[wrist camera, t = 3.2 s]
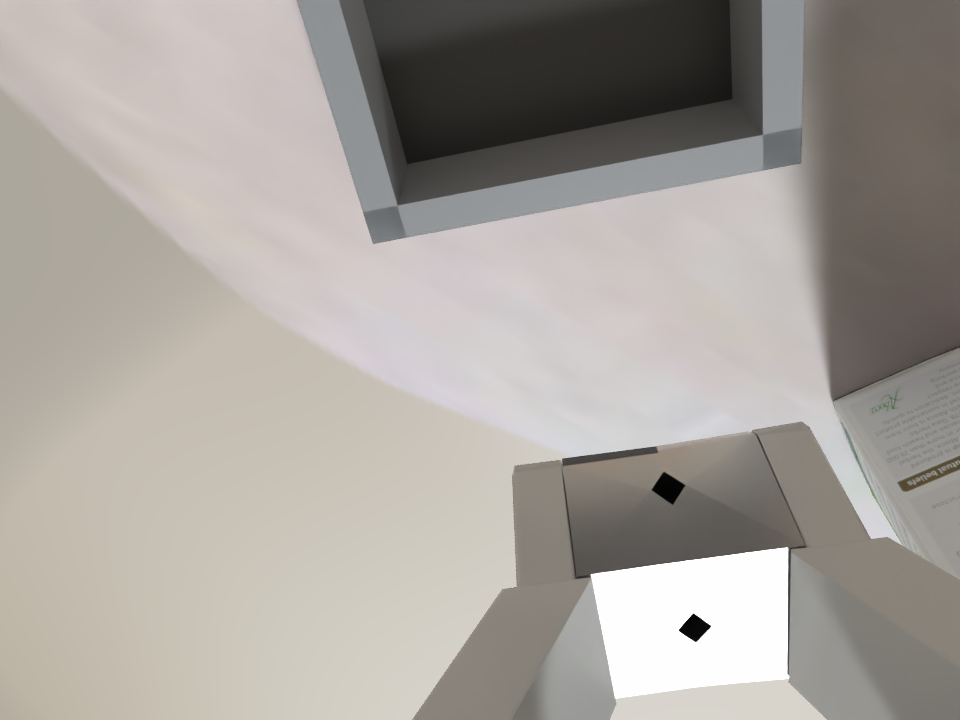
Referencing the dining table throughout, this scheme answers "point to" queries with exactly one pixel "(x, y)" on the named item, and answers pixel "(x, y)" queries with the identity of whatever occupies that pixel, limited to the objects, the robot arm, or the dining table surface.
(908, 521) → the syrup box
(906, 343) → the dining table surface
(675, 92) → the tray box
